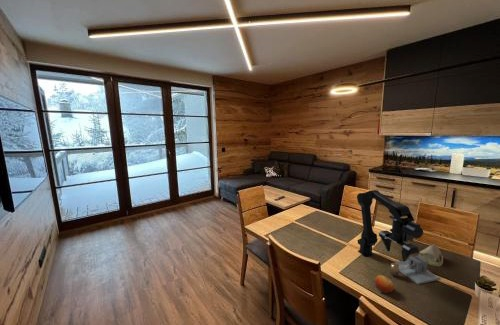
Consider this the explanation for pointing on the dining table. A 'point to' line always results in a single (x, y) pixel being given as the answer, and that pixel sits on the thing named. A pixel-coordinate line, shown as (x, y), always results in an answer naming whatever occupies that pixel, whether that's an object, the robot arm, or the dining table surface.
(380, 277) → the fruit
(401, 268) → the metal knob rod
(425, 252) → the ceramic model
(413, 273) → the barrel bolt latch
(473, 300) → the dining table surface
